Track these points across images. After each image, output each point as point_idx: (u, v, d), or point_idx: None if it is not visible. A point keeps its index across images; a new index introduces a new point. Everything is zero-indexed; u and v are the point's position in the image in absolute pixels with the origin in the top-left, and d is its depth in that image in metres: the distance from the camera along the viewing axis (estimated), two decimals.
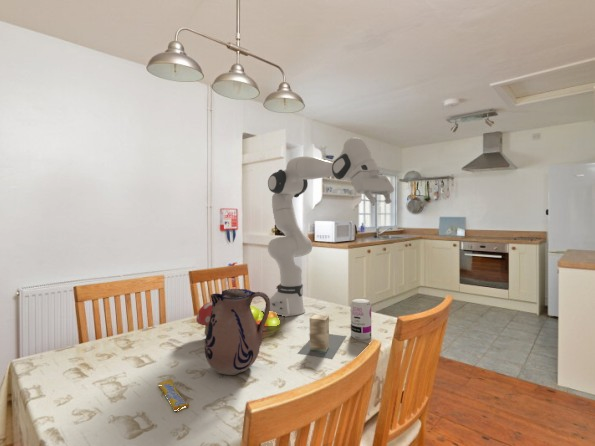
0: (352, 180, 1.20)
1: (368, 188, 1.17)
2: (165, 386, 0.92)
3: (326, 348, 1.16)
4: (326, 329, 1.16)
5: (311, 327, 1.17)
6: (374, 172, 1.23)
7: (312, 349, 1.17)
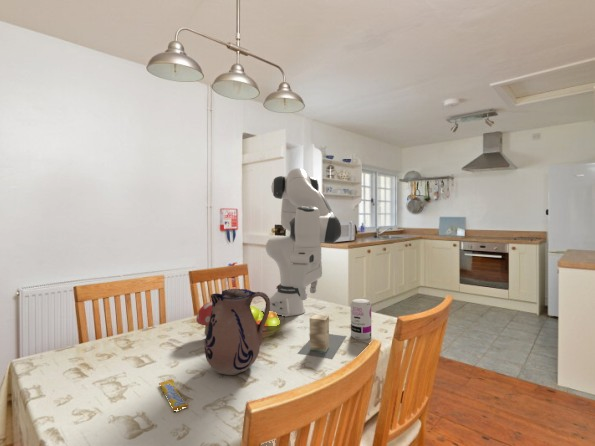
0: (293, 269, 0.99)
1: (306, 285, 1.00)
2: (166, 386, 0.92)
3: (326, 348, 1.16)
4: (326, 329, 1.16)
5: (311, 327, 1.17)
6: (316, 261, 1.05)
7: (312, 349, 1.17)
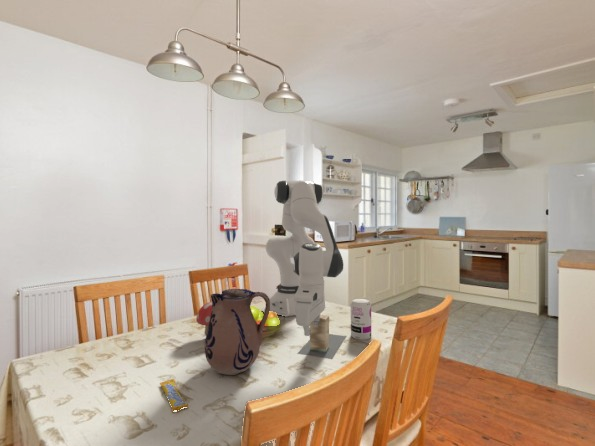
0: (297, 307, 1.03)
1: (309, 323, 1.04)
2: (166, 386, 0.92)
3: (326, 348, 1.16)
4: (326, 328, 1.16)
5: (311, 326, 1.17)
6: (319, 298, 1.09)
7: (312, 349, 1.17)
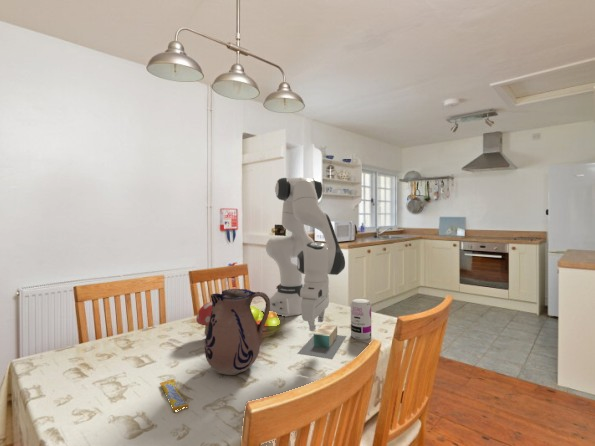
0: (303, 303, 1.07)
1: (314, 318, 1.09)
2: (167, 386, 0.92)
3: (329, 338, 1.20)
4: (334, 332, 1.27)
5: (322, 326, 1.29)
6: (324, 294, 1.14)
7: (316, 333, 1.22)
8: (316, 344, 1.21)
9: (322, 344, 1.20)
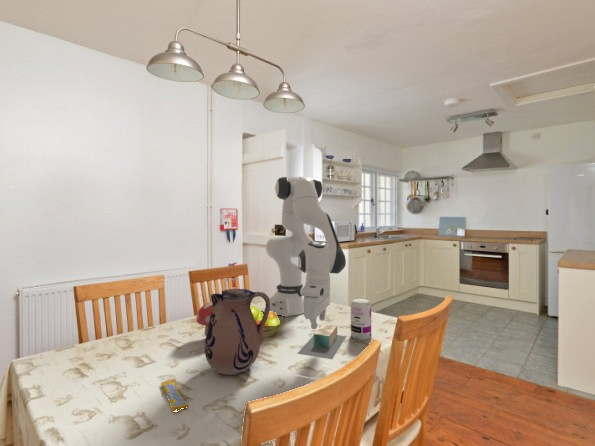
0: (305, 301, 1.09)
1: (316, 316, 1.10)
2: (167, 386, 0.92)
3: (329, 338, 1.20)
4: (334, 332, 1.27)
5: (322, 326, 1.29)
6: (325, 293, 1.15)
7: (316, 333, 1.22)
8: (316, 344, 1.21)
9: (322, 344, 1.20)
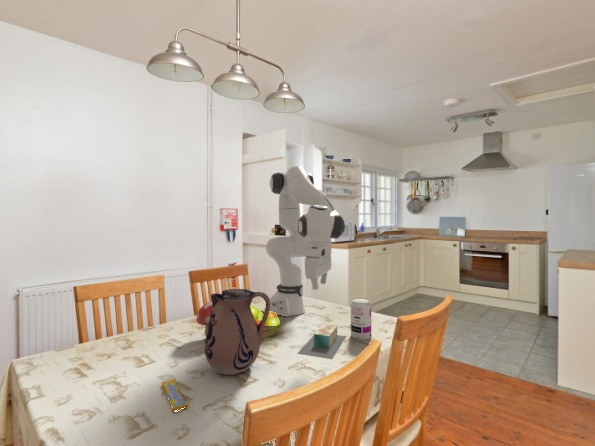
0: (306, 261, 1.10)
1: (317, 276, 1.11)
2: (167, 386, 0.92)
3: (329, 338, 1.20)
4: (334, 332, 1.27)
5: (322, 326, 1.29)
6: (326, 255, 1.16)
7: (316, 333, 1.22)
8: (316, 344, 1.21)
9: (322, 344, 1.20)
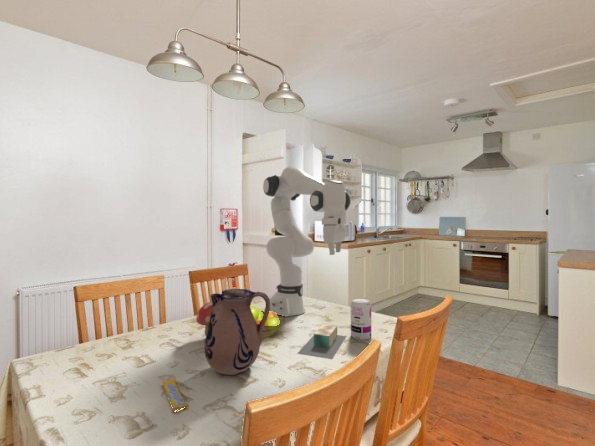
0: (324, 229, 1.23)
1: (334, 242, 1.24)
2: (167, 386, 0.92)
3: (329, 338, 1.20)
4: (334, 332, 1.27)
5: (322, 326, 1.29)
6: (342, 225, 1.29)
7: (316, 333, 1.22)
8: (316, 344, 1.21)
9: (322, 344, 1.20)
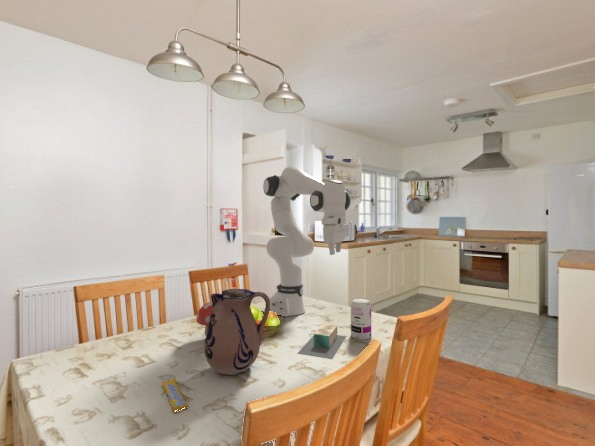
0: (324, 228, 1.23)
1: (334, 242, 1.24)
2: (168, 386, 0.92)
3: (329, 338, 1.20)
4: (334, 332, 1.27)
5: (322, 326, 1.29)
6: (342, 224, 1.29)
7: (316, 333, 1.22)
8: (316, 344, 1.21)
9: (322, 344, 1.20)
